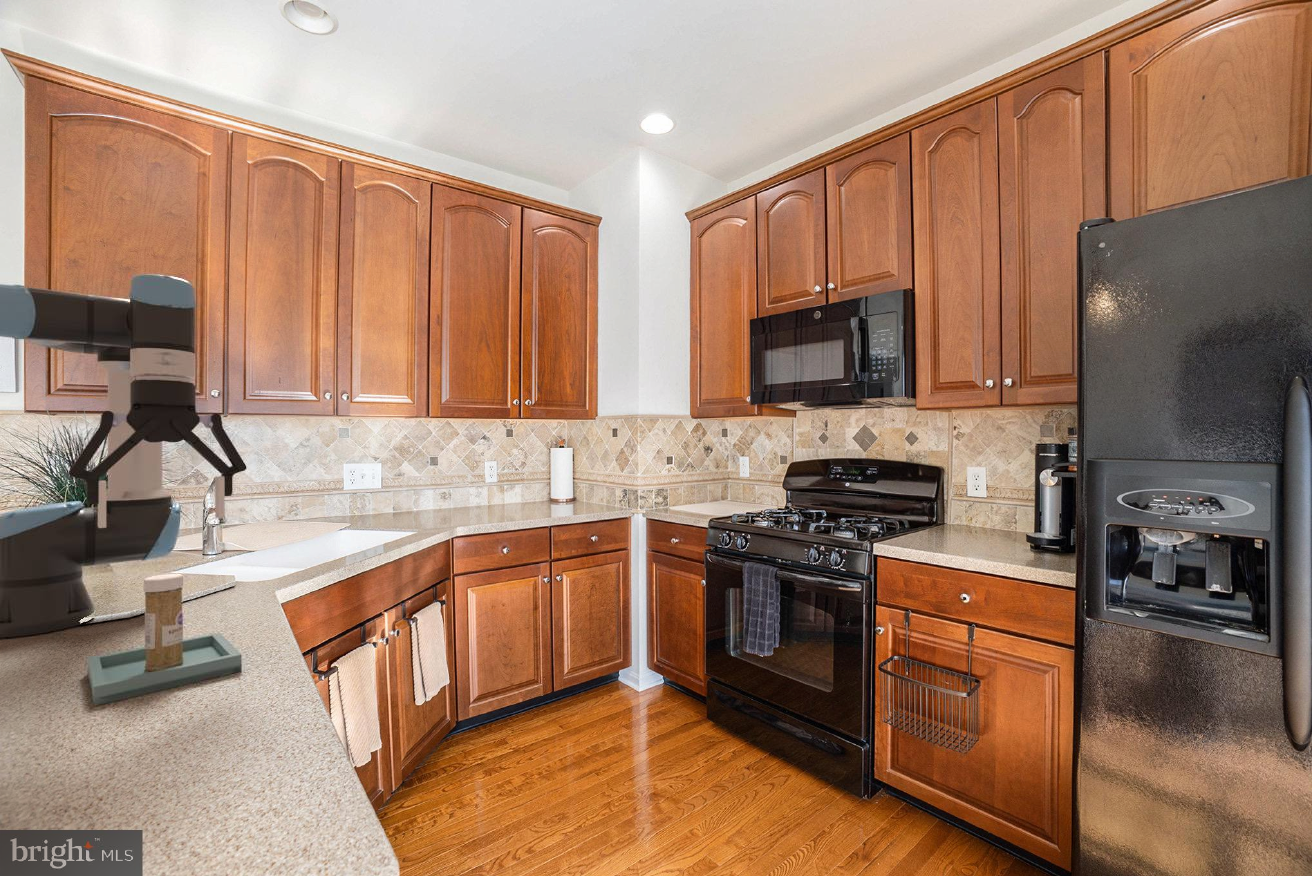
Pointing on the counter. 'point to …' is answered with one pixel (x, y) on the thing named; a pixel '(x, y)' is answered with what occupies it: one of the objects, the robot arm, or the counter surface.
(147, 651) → the sprinkles bottle
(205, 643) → the tray
